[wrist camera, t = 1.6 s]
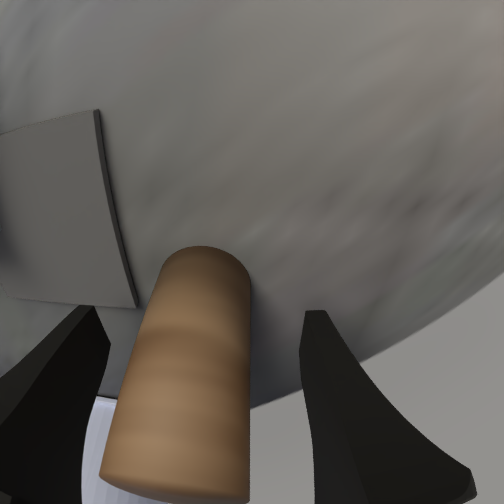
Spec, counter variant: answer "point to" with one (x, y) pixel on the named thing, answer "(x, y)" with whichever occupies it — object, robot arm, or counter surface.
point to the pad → (60, 216)
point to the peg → (187, 387)
